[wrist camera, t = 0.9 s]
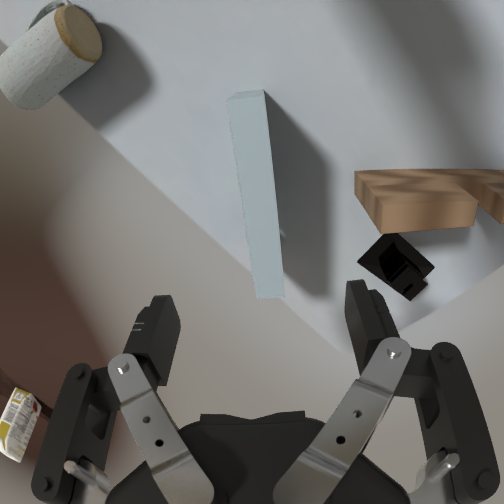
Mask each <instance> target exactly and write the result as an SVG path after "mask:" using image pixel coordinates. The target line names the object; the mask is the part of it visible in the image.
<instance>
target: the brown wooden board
mask: <svg viewBox="0 0 504 504" xmlns="http://www.w3.org/2000/svg"><path fill="white" fill-rule="evenodd" d="M355 195H356V197H357V198H358V200H359V201H360V203H361V204H362V206H363V207H364V209H365V210H366V212H367V213H368V215H369V217H370V218H371V220H372V221H373V223H374V224H375V226H376V227H377V229H378V231H379V232H380V234H386V233H398V232H409V231H421V230H433V229H445V228H457V227H469V226H473V225H474V220H475V215H476V210H477V205H479V206H481V207H482V208H483V209H484V210H485V211H486V212H488V213H489V214H490V215H491V216H492V217H493V218H494V219H496V220H497V221H498V222H499V223H500V224H504V170H479V169H394V170H367V171H355Z"/></svg>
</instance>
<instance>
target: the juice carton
mask: <svg viewBox="0 0 504 504" xmlns="http://www.w3.org/2000/svg"><path fill="white" fill-rule="evenodd" d="M41 408H42V407H41V405H40V404H39V403H38V402H37V400H36V399H35V397H34V396H33V395H32V394H31V393H29V392H26V391H24V390H21V389H19V388H15V389H14V391H13V393H12V395H11V397H10V399H9V402H8V404H7V406H6V408H5V410H4V412H3V415H2V417H1V419H0V451H1V452H2V453H3V454H4V455H6V456H8V457H9V458H11V459H13V460H15V461H17V462H21V459H22V457H23V454H24V452H25V449H26V446H27V444H28V441H29V438H30V436H31V433H32V431H33V428H34V426H35V423H36V421H37V418H38V416H39V413H40V411H41Z"/></svg>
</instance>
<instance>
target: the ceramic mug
mask: <svg viewBox="0 0 504 504" xmlns="http://www.w3.org/2000/svg"><path fill="white" fill-rule="evenodd" d="M101 54H102V40H101V37H100V34H99V32H98V30H97V28H96V26H95V24H94V23H93V21H92V20H91V19H90V18H89V17H88V15H87V14H86V13H85V12H83V11H82V10H81V9H79V8H78V7H75V6H74V5H73V4H72V3H71V2H69V1H68V0H53V1H51V2H50V3H48V4H47V5H45V6H44V7H43V8H42V9H41V10H40V11H39V12H38V13H37V14H36V15H35V17H34V18H33V19H32V21H31V22H30V24H29V26H28V28H27V30H26V33H25V34H23V35H22V36H21V37H20V38H19V39H17V40H16V41H15V42H14V43H13V44H12V45H11V46H10V47H9V48H8V49H7V50H6V51H5V52H4V53H3V54H2V55H1V56H0V88H1V90H2V92H3V93H4V94H5V96H6V97H7V98H8V99H9V100H10V101H11V102H12V103H13V104H15V105H16V106H18V107H20V108H22V109H26V110H36V109H39V108H41V107H42V106H44V105H45V104H46V103H47V102H48V101H50V100H51V99H52V98H53V97H54V96H55V95H57V94H58V93H59V92H60V91H62V90H63V89H64V88H65V87H66V86H68V85H69V84H70V83H71V82H72V81H74V80H75V79H76V78H78V77H79V76H81V75H82V74H84V73H85V72H86V71H87V70H89V69H90V68H91V67H92V66H93V65H94V64H95V63H96V62H97V61H98V60H99V58H100V56H101Z"/></svg>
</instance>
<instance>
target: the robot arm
mask: <svg viewBox="0 0 504 504" xmlns="http://www.w3.org/2000/svg"><path fill="white" fill-rule="evenodd" d="M345 318H346V322H347V326H348V330H349V334H350V337H351V341H352V345H353V349H354V353H355V357H356V361H357V365H358V369H359V374H360V378H359V379H358V380H357V379H356V380H355V381H354V382H353V384H352V385H351V387H350V388H349V390H348V391H347V393H346V394H345V396H344V398H343V399H342V401H341V402H340V404H339V405H338V407H337V408H336V410H335V411H334V413H333V414H332V415H331V417H330V418H329V420H328V421H327V423H324V422H322V421H319V420H317V419H312V418H307V417H305V411H294V412H281V413H275V414H272V415H268V416H265V417H261V418H257V419H252V420H250V419H245V418H240V417H235V416H231V415H226V414H201V416H200V421H197V422H194V423H191V424H189V425H186V426H184V427H183V428H181V429H179V428H178V426H177V425H176V423H175V422H174V421H173V419H172V417H171V416H170V414H169V412H168V411H167V409H166V407H165V406H164V404H163V402H162V401H161V399H160V397H159V396H158V394H157V392H156V391H157V387H158V386H166V385H167V381H168V377H169V373H170V369H171V365H172V361H173V356H174V353H175V349H176V345H177V341H178V337H179V333H180V328H181V326H180V319H179V316H178V313H177V310H176V308H175V305H174V302H173V299H172V297H171V296H170V295H158V296H154V297H153V299H152V302H151V304H150V307H144V309H143V310H142V311H141V312H140V313H139V314H138V316H137V318H136V321H135V324H134V326H133V329H132V331H131V333H130V336H129V338H128V341H127V343H126V346H125V349H124V351H123V353H122V354H120V355H118V356H116V357H115V358H113V359H112V360H111V361H110V363H109V365H108V367H103V368H99V369H95V370H92V368H91V367H90V366H89V365H88V364H86V363H79V364H76V365H74V366H73V367H72V368H71V369H70V370H69V371H68V373H67V375H66V378H65V380H64V383H63V385H62V388H61V390H60V394H59V396H58V399H57V401H56V404H55V407H54V409H53V412H52V415H51V418H50V421H49V424H48V427H47V430H46V433H45V436H44V439H43V442H42V446H41V449H40V453H39V456H38V459H37V463H36V466H35V470H34V474H33V478H32V482H31V488H32V492H33V494H34V495H35V497H36V498H37V499H39V500H41V501H43V502H45V503H47V504H479V503H480V502H482V501H484V500H486V499H488V498H489V497H491V496H492V495H493V494H494V493H495V492H496V490H497V489H498V487H499V484H500V474H499V469H498V465H497V461H496V457H495V452H494V449H493V445H492V441H491V438H490V434H489V431H488V427H487V424H486V421H485V418H484V414H483V411H482V408H481V405H480V403H479V399H478V397H477V394H476V391H475V388H474V386H473V383H472V380H471V378H470V375H469V372H468V370H467V367H466V365H465V362H464V360H463V357H462V355H461V352H460V351H459V349H458V348H457V347H456V346H455V345H453V344H451V343H448V342H440V343H437V344H435V345H434V346H433V347H432V349H431V350H422V349H414V348H412V347H410V345H409V344H408V343H407V342H406V341H405V340H403V339H401V338H400V336H399V334H398V331H397V329H396V326H395V324H394V321H393V319H392V316H391V314H390V313H389V309H388V307H387V304H386V302H385V300H384V298H383V296H382V295H381V294H380V293H379V292H378V291H377V290H376V289H373V290H368V289H367V286H366V284H365V281H364V280H363V279H361V280H352V281H347V284H346V296H345ZM394 396H400V397H411V398H414V400H415V404H416V408H417V412H418V417H419V421H420V426H421V431H422V436H423V440H424V445H425V451H426V456H427V462H426V463H424V465H422V466H421V467H420V469H419V470H418V472H417V475H416V484H415V488H414V490H413V491H412V493H409V494H407V492H406V491H405V489H404V488H403V487H402V486H401V485H400V484H398V483H397V482H396V481H395V480H393V479H392V478H391V477H389V476H388V475H387V474H386V473H385V472H383V471H382V470H381V469H380V468H378V466H376V465H375V464H374V463H373V462H372V461H370V460H369V459H368V458H367V457H365V455H363V453H364V451H365V449H366V448H367V446H368V444H369V443H370V441H371V439H372V437H373V435H374V434H375V432H376V430H377V428H378V426H379V424H380V422H381V421H382V419H383V417H384V415H385V413H386V411H387V409H388V407H389V405H390V404H391V401H392V400H393V398H394ZM118 410H121V411H122V413H123V415H124V418H125V420H126V422H127V424H128V426H129V428H130V430H131V433H132V435H133V437H134V439H135V441H136V443H137V445H138V447H139V449H140V450H141V452H142V454H143V456H144V458H145V461H144V462H143V463H142V464H141V465H139V466H138V467H137V468H136V469H135V470H134V471H133V472H131V473H130V474H129V475H128V476H127V477H126V478H124V479H123V480H122V481H121V482H120V483H119V484H117V485H116V486H115V487H114V488H113V489H112V490H111V491H110V482H109V478H108V476H107V475H106V473H105V472H104V469H105V464H106V459H107V453H108V449H109V445H110V440H111V436H112V431H113V427H114V423H115V418H116V414H117V411H118Z"/></svg>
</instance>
